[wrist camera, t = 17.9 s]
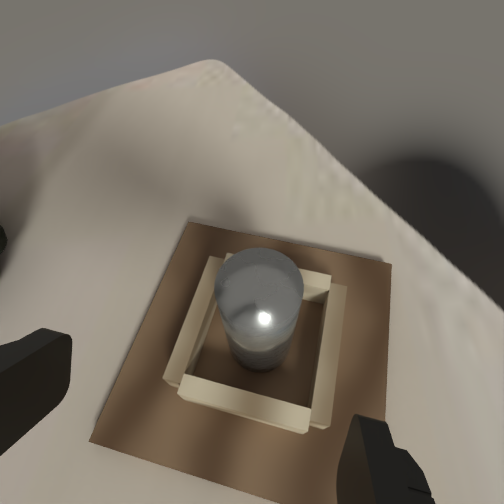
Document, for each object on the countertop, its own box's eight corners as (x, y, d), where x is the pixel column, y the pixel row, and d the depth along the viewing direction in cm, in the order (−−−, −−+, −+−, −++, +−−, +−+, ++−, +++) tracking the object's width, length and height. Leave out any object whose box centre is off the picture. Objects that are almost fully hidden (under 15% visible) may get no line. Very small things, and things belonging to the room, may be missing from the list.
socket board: (94, 442, 22) (69, 439, 19) (190, 228, 31) (183, 203, 28) (374, 532, 19) (396, 545, 16) (387, 269, 29) (403, 247, 26)
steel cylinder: (220, 362, 23) (201, 314, 16) (239, 305, 26) (229, 239, 18) (282, 380, 23) (293, 339, 15) (296, 319, 25) (311, 257, 17)
